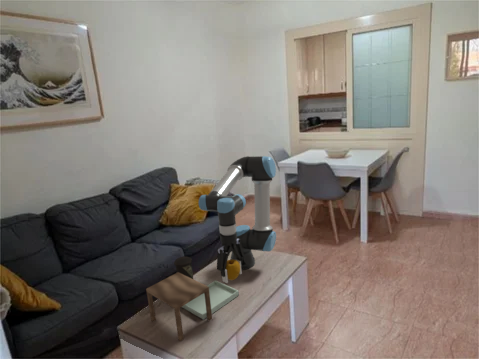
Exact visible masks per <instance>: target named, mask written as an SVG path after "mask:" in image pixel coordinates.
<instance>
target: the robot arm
mask: <svg viewBox="0 0 479 359" xmlns="http://www.w3.org/2000/svg"><path fill="white" fill-rule="evenodd" d="M276 170H277V168H276V163H275V160H274V158H273V157H271V156H265V155H263V156H262V155H260V156H249V155H247V156H243V157H241V158H238V159H236V160H234V162H232V163H231V164H230V165H229V166H228V168H227V170H226V171H227V172H225V174H224V175H223V177H221V179H220V180H219V181H218V183H216V185H215V186H214V188H212V190H211V191H210V192H209V193H208V194H201V195H200V196H199V198H198V207H199V209H200V210H201V211H207V212H217V218H218V228H219V238H220V242H221V247H219V248H216V253H217V258H216V270H218V271H219V272H220V276H221V277H222V279H221V280H222V283H224V284H225V283H226V284H228V283H229V279H228V277H227V270H226V264H227V260H237V261H238V262H239V264H240V273H239V275H242V273H243V272H242V270H247V269H248V270H249V269H251V268H253V267H254V266H255V264H256V259H255V256H254V254H253V252H252V251H260V252H271V251H272V250H273V249H274V247H275V245H276V242H277V232H276V231H274V229H273V228H274V227H273V226H272V225H271V217H270V216H271V215H270V214H271V208H270V207H271V204H270V202H271V201H270V200H271V197H270V196H271V194H270V193H271V189H270V183H272V181H273V179H274V178H275V177H276V173H277V171H276ZM246 177H247V178H251V182H252V183H253V184H254V185H253V186H254V192H253V193H254V224H253V226H252V227H250V225H248V224H241V225H237V222H236V215H237V214H239V213H240V212H241V211H242V210H243V209H244V208H245V207H246V204H247V200H246V198H245V197H244V196H243V195H242V194H241V193H240V194H239V193H237V194H234V195H233V196H230V195H229V193H230V192H231V190H232V189H233V188H234V186H235V185H236V184H237V183H238V181H240V180H242V179H243V178H246ZM251 228H252V229H251ZM230 254H231V255H230ZM229 256H230V259H229Z"/></svg>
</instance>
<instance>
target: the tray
mask: <svg viewBox="0 0 479 359" xmlns="http://www.w3.org/2000/svg"><path fill="white" fill-rule="evenodd" d="M206 286H208V287H209V293H210V303H211V312H212V314H214V313H215V312H216V311H218V310H220V309H221V308H223V307H224V306H225V305H227V304H228V303H230V302H231V301H233V300H234V299H236V298H237V297H238V296H240V294H239V293H240V292H239V290H238V289H236V288H234V287H231V286H230V285H227V284H225V283H224V282H221V281H218V280H213V281H212V282H210V283H209V284H207V285H206ZM181 308H183V309H184V310H186V311H188V312H189V313H191V314H193V315H195V316H197V317H198V318H200V319H202V320H205V319H207V313H206V304H205V294H204V293H203V294H201V295H200V296H198V297H197V298H195V299H193V300H192V301H190V302H189V303H187V304H185V305H184V306H182V307H181Z"/></svg>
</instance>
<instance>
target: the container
mask: <svg viewBox="0 0 479 359" xmlns="http://www.w3.org/2000/svg"><path fill="white" fill-rule="evenodd" d="M192 262H193V259H192V257H190V256H180V257H179V256H178V258H176V259H175V260H174V262H173V264H174V266H175V270H176V271H175V272H176V273H177V272H179V273H181V274H183V275H185V276H187V277H189V278H192V279H194V273H193V266H192Z"/></svg>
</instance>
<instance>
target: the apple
mask: <svg viewBox="0 0 479 359" xmlns="http://www.w3.org/2000/svg"><path fill="white" fill-rule="evenodd" d="M226 270H227V277H228V281H234V280H236V279H238V277H239V276H240V274H239V273H240V264H239V262H238V261H237V260H230V259H228V260H227V264H226Z"/></svg>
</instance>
